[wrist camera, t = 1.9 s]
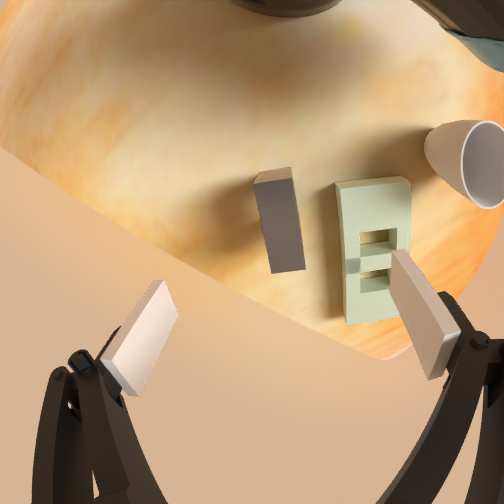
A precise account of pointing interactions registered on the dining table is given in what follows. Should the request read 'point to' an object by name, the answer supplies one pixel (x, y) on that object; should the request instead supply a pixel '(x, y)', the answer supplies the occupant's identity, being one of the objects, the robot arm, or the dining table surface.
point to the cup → (469, 159)
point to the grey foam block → (280, 219)
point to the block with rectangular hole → (374, 254)
